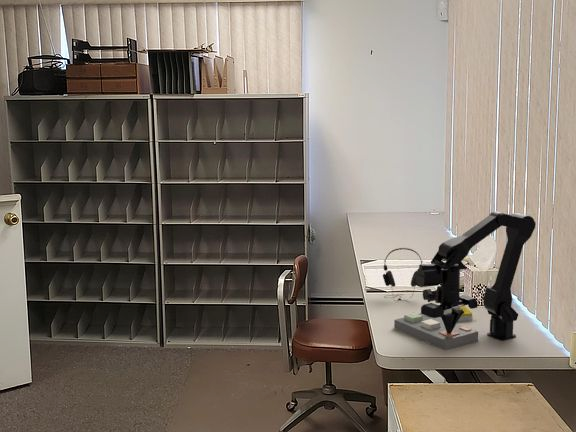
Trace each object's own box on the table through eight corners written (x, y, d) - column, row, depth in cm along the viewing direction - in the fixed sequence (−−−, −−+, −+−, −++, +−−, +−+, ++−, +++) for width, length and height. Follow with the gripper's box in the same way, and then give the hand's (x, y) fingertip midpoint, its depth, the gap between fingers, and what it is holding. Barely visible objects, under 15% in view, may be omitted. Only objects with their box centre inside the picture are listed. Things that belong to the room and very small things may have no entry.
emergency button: (477, 310, 224) (433, 311, 223) (477, 322, 225) (433, 324, 224) (468, 301, 233) (426, 303, 232) (468, 313, 234) (426, 315, 233)
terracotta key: (458, 339, 204) (458, 333, 204) (448, 342, 202) (448, 336, 202) (448, 335, 208) (448, 329, 207) (438, 338, 205) (438, 332, 205)
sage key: (422, 321, 217) (422, 315, 217) (412, 324, 215) (412, 318, 215) (413, 318, 221) (413, 312, 221) (404, 320, 219) (404, 314, 218)
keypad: (478, 340, 207) (478, 330, 206) (445, 349, 199) (445, 339, 199) (425, 320, 226) (426, 311, 226) (394, 328, 219) (394, 318, 218)
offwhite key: (440, 328, 211) (440, 322, 210) (430, 331, 208) (430, 325, 208) (430, 324, 214) (430, 319, 214) (420, 327, 212) (421, 321, 212)
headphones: (421, 294, 256) (422, 244, 252) (424, 303, 245) (425, 250, 241) (381, 294, 257) (382, 243, 254) (382, 303, 246) (383, 250, 243)
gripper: (452, 273, 213) (451, 320, 216) (408, 282, 204) (408, 331, 206) (479, 281, 204) (477, 329, 207) (434, 291, 194) (433, 342, 197)
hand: (448, 332), depth 204 cm, fingers closed, pressing on terracotta key
